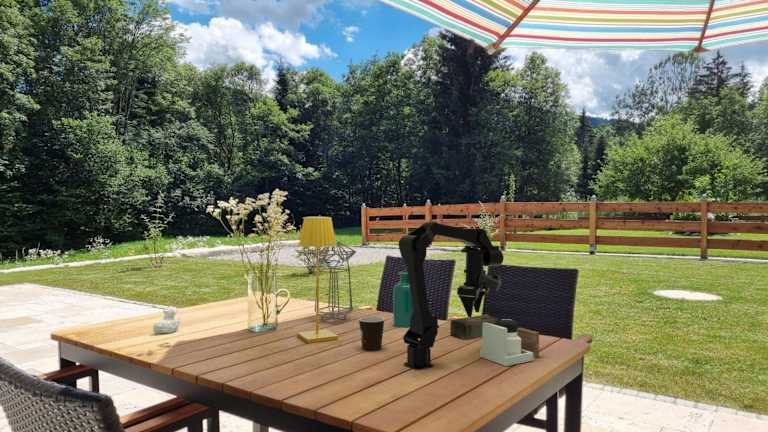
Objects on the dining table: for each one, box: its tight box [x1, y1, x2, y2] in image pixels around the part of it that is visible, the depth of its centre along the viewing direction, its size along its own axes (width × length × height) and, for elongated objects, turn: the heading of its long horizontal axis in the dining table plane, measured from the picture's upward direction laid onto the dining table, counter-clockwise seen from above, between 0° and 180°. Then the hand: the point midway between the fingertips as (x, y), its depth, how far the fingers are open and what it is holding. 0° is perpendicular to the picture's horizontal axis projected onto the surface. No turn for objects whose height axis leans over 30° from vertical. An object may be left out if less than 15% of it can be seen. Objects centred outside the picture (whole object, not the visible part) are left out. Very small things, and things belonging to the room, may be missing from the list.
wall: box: [517, 327, 540, 360], centre depth 161 cm, size 2×8×8 cm, turn 30°
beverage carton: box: [449, 314, 499, 341], centre depth 189 cm, size 8×19×7 cm, turn 127°
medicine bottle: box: [498, 318, 521, 357], centre depth 157 cm, size 7×7×12 cm
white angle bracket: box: [479, 322, 534, 367], centre depth 157 cm, size 12×12×11 cm
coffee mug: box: [358, 316, 385, 352], centre depth 170 cm, size 12×9×10 cm
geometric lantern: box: [309, 239, 357, 324], centre depth 211 cm, size 16×16×35 cm
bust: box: [152, 305, 181, 335], centre depth 191 cm, size 12×8×11 cm
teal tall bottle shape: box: [392, 271, 413, 328], centre depth 204 cm, size 10×8×22 cm
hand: (473, 314), depth 162 cm, fingers open, 9 cm apart
